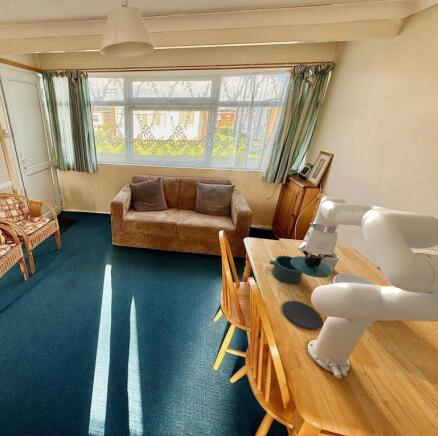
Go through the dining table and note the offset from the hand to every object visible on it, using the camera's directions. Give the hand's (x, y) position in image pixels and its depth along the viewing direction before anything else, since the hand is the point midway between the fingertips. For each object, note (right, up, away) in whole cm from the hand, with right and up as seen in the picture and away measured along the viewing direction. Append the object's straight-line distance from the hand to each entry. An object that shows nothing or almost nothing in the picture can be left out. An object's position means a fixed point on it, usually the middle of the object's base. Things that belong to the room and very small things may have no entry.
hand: (311, 264), depth 99 cm
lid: (0, -1, +1) cm, 1 cm away
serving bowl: (+30, -19, +12) cm, 38 cm away
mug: (+30, -9, +33) cm, 46 cm away
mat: (-2, -23, +4) cm, 24 cm away
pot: (+6, -12, +28) cm, 31 cm away
